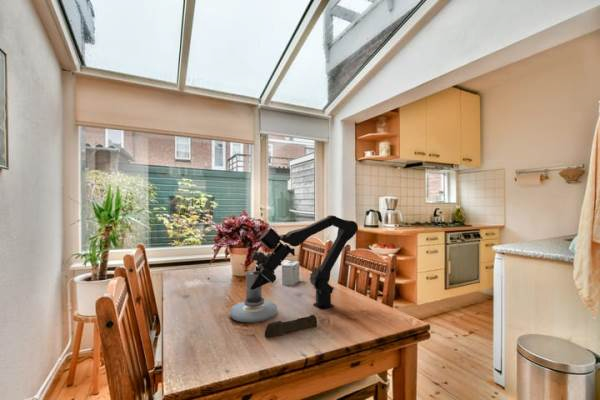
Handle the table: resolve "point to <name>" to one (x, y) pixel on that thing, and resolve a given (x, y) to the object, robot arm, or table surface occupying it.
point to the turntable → (253, 312)
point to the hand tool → (289, 326)
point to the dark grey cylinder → (253, 291)
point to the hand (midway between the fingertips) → (250, 286)
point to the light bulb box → (290, 273)
